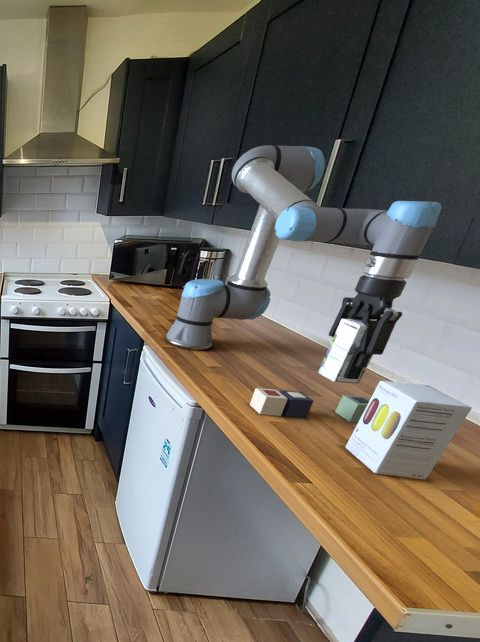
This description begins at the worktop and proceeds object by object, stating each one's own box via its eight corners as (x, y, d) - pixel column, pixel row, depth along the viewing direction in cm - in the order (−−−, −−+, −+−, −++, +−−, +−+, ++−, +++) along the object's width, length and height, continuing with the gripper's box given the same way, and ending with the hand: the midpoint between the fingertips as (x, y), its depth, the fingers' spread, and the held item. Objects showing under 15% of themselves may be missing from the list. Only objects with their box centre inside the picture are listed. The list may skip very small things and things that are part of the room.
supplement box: (343, 447, 89) (377, 379, 82) (390, 452, 88) (428, 383, 81) (375, 474, 80) (416, 401, 73) (428, 481, 79) (475, 406, 72)
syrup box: (341, 374, 100) (366, 318, 94) (360, 384, 95) (387, 326, 89) (317, 372, 101) (340, 317, 95) (334, 382, 95) (360, 324, 89)
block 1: (249, 404, 106) (255, 387, 104) (269, 406, 105) (276, 389, 103) (259, 414, 101) (266, 396, 99) (280, 416, 101) (288, 398, 99)
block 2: (273, 406, 105) (280, 389, 103) (293, 408, 105) (301, 391, 103) (284, 416, 101) (292, 398, 99) (306, 418, 100) (314, 400, 98)
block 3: (334, 411, 104) (343, 394, 102) (355, 413, 103) (364, 396, 101) (349, 422, 99) (358, 403, 97) (371, 423, 99) (380, 405, 97)
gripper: (334, 268, 97) (299, 356, 106) (402, 285, 80) (352, 388, 89) (368, 270, 96) (329, 359, 105) (444, 287, 79) (389, 391, 88)
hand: (340, 372), depth 97 cm, fingers closed on syrup box, 6 cm apart
